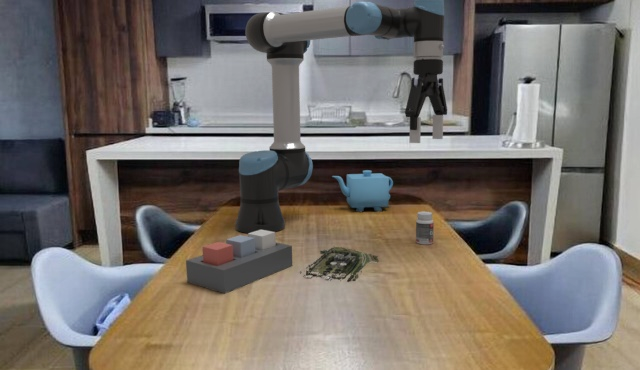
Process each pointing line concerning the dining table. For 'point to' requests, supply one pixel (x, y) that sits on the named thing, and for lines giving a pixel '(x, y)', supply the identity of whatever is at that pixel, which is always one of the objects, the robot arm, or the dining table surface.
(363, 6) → the robot arm
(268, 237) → the white key
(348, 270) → the treatment plant
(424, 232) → the pill bottle
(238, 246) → the blue key
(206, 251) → the red key
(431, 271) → the dining table surface
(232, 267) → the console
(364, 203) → the teapot
